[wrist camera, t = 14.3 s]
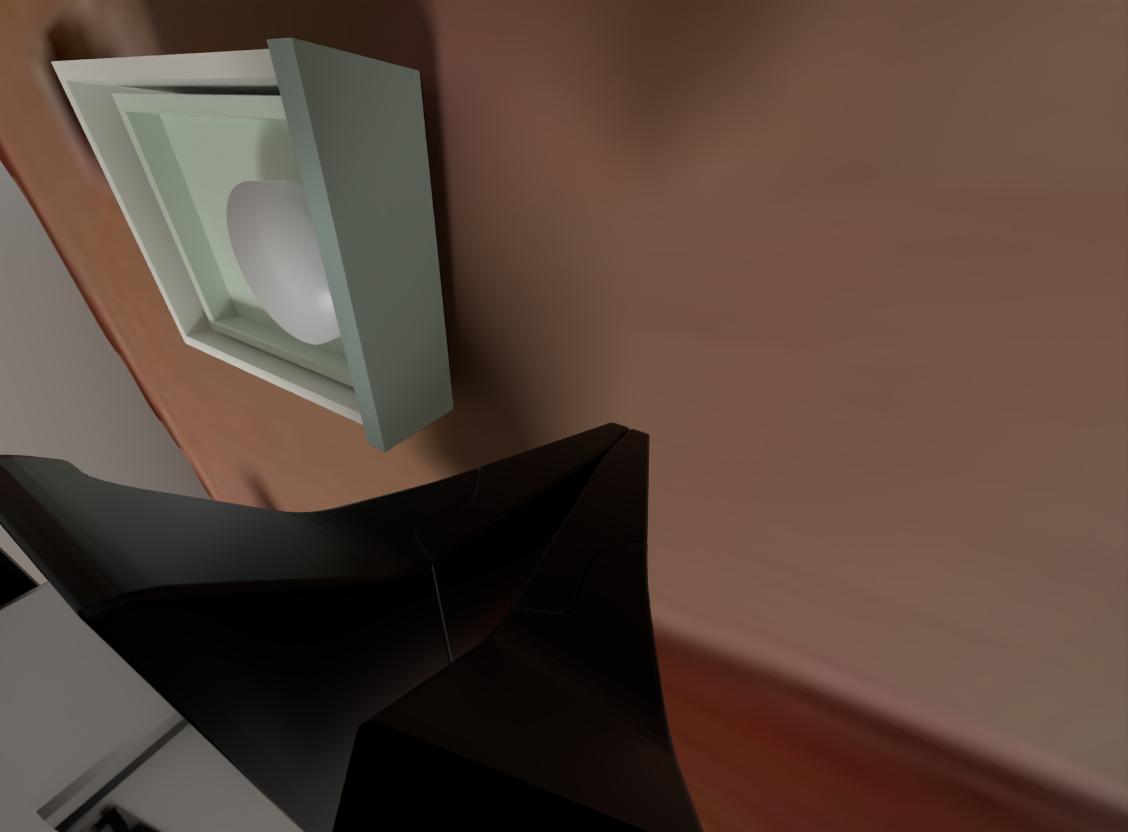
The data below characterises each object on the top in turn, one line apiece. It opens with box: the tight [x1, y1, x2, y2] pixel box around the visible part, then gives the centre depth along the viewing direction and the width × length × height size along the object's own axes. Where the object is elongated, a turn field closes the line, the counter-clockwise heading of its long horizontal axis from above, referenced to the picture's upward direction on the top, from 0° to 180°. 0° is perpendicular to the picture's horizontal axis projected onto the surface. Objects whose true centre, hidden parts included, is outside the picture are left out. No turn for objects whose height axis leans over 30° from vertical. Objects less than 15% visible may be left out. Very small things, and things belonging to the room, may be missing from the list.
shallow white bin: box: [51, 49, 452, 425], centre depth 19 cm, size 12×16×4 cm
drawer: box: [111, 38, 453, 452], centre depth 17 cm, size 12×16×4 cm
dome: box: [226, 179, 341, 344], centre depth 16 cm, size 6×6×2 cm
